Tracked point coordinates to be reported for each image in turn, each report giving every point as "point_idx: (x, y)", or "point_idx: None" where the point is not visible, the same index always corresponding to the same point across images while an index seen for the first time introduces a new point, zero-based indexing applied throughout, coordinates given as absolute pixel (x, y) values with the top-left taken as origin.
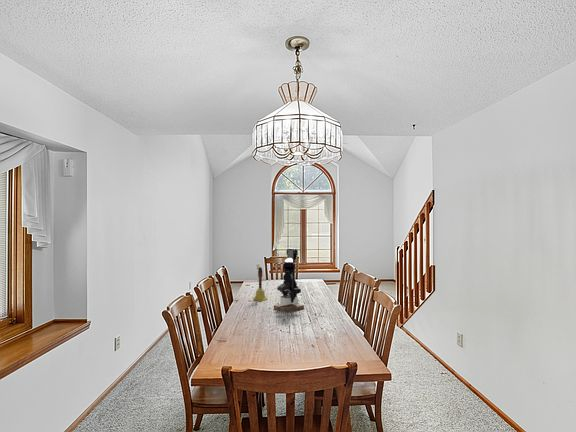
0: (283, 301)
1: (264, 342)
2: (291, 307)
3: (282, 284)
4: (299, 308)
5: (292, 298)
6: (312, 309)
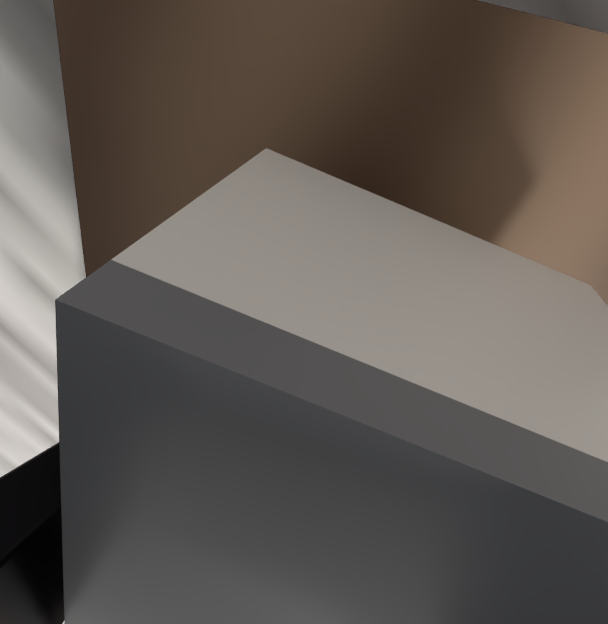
0: (394, 250)
1: None
2: (111, 191)
3: None
4: None
5: (15, 487)
6: (47, 426)
